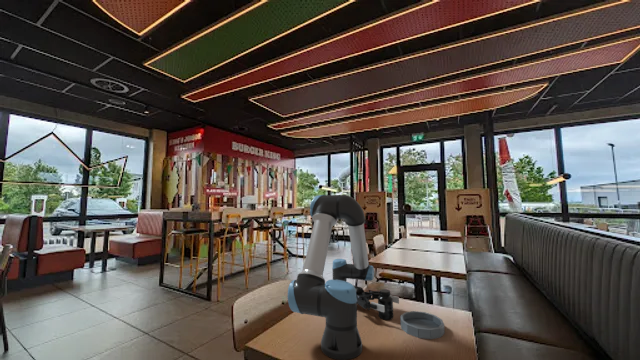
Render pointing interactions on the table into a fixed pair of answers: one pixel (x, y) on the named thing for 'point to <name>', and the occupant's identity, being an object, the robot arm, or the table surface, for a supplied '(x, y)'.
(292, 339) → the table surface
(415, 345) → the table surface
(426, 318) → the bowl
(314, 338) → the table surface
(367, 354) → the table surface
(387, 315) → the supplement bottle
